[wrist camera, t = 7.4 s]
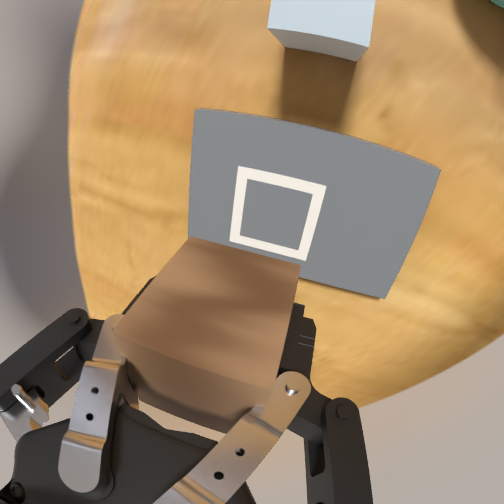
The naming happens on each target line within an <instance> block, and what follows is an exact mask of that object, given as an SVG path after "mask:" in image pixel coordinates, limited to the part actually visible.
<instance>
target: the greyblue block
mask: <svg viewBox="0 0 504 504" xmlns="http://www.w3.org/2000/svg"><path fill="white" fill-rule="evenodd" d="M374 7H375V0H272V1H271V7H270V13H269V19H268V25H267V28H268V29H269V31H270V32H271V33H272V34H273V35H274V36H275V37H276V38H277V39H278V40H279V41H280V42H281V43H282V45H283V46H284V47H287V48H294V49H300V50H306V51H312V52H317V53H322V54H326V55H331V56H335V57H339V58H344V59H348V60H351V61H355V62H357V61H358V60H359V59H360V57H361V56H362V55H363V54H364V53H365V51H366V50H367V49H368V48H369V43H370V37H371V30H372V23H373V15H374Z"/></svg>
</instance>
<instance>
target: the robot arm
mask: <svg viewBox="0 0 504 504" xmlns="http://www.w3.org/2000/svg"><path fill="white" fill-rule="evenodd" d="M155 277H156V276H155ZM155 277H153V278H151V279H150V280H149V281H148V282H147V283H146V285H145V286H144V288H142V289H141V291H140V292H139V294H137V295H136V297H135V298H134V299H133V300H132V302H131V303H130V304H129V305H128V306H127V308H126V309H125V310H124V311H123V313H122V314H115V315H112V316H110V317H108V318H107V319H106V320H97V319H90V318H89V317H88V314H87V312H86V311H84V310H83V309H80V308H75V309H71V310H69V311H68V312H66V313H65V314H63V315H62V316H61V317H59V318H58V319H57V320H55V321H54V322H53V323H52V324H50V325H49V326H47V327H46V328H45V329H44V330H42V331H41V332H40V333H38V334H37V335H36V336H35V337H33V338H32V339H31V340H30V341H28V342H27V343H26V344H24V345H23V346H22V347H21V348H19V349H18V350H17V351H16V352H15V353H13V354H12V355H11V356H10V357H8V358H7V359H6V360H5V361H4V362H3V363H1V364H0V416H1V417H2V419H3V421H4V423H5V424H6V426H7V428H8V429H9V431H10V432H11V434H12V435H13V437H14V438H15V440H16V441H17V444H16V447H15V463H14V471H13V475H12V478H11V480H10V482H9V483H8V484H7V485H6V486H5V487H4V488H3V489H1V490H0V504H256V502H255V500H254V498H253V496H252V494H251V492H250V489H249V487H248V485H247V483H246V480H247V478H248V477H249V476H250V475H251V474H252V472H253V471H254V470H255V469H256V468H257V466H258V465H259V464H260V463H261V461H262V460H263V459H264V458H265V456H266V455H267V454H268V453H269V451H270V450H271V449H272V447H273V446H274V445H275V444H276V442H277V441H278V439H279V438H280V436H281V435H282V434H283V432H284V431H285V429H286V428H287V429H289V430H290V431H292V432H294V433H296V434H297V435H299V436H301V437H303V438H304V449H305V463H306V464H305V465H306V480H307V481H306V482H307V502H308V504H373V498H372V490H371V482H370V475H369V467H368V461H367V454H366V449H365V442H364V436H363V430H362V425H361V419H360V415H359V410H358V407H357V406H356V404H355V403H354V402H352V401H351V400H349V399H347V398H335V399H333V400H332V399H330V398H328V397H326V396H324V395H322V394H320V393H319V392H318V391H316V390H315V388H314V387H313V386H312V384H311V381H310V371H311V365H312V358H313V351H314V343H315V335H316V326H315V324H314V321H313V319H310V318H306V317H303V314H304V308H305V305H301V304H298V303H293V307H292V312H291V317H290V321H289V326H288V330H287V335H286V339H285V343H284V348H283V352H282V356H281V360H280V364H279V368H278V373H277V377H276V381H275V384H274V388H273V391H272V394H271V396H270V398H269V400H268V402H267V404H266V406H265V408H264V407H261V406H257V405H255V406H254V407H253V408H252V410H251V411H250V412H249V413H246V414H245V415H244V416H243V417H242V418H241V419H240V420H239V421H238V422H237V423H236V424H235V425H234V427H233V428H232V429H231V430H230V431H229V432H228V433H227V434H226V435H225V436H224V438H223V439H222V440H221V441H220V442H219V443H218V442H217V441H214V440H211V439H208V438H205V437H202V436H200V435H197V434H194V433H187V432H180V431H174V430H168V429H165V428H163V427H162V426H161V425H159V424H158V423H157V422H155V421H154V420H153V419H151V418H150V417H149V416H148V415H146V414H145V413H144V412H141V411H139V402H138V390H139V389H138V386H137V384H135V383H133V382H131V380H130V378H129V375H128V373H127V371H128V365H129V364H128V361H127V359H126V357H124V356H122V355H120V353H119V350H118V348H117V345H116V342H115V339H114V337H113V334H112V331H113V329H114V328H115V327H116V325H117V324H118V323H119V322H120V320H121V319H122V318H123V316H124V315H125V314H126V313H127V311H128V310H129V309H130V308H131V306H132V305H133V304H134V303H135V301H136V300H137V299H138V298H139V296H140V295H141V294H142V293H143V292H144V290H145V289H146V288H147V287H148V285H149V284H150V283H151V282H152V281H153V279H154V278H155ZM72 346H73V348H72V349H71V350H70V351H69V352H67V353H66V354H65V355H64V356H63V357H61V358H60V359H59V360H58V361H57V362H55V361H56V360H57V359H58V358H59V357H60V356H61V355H63V354H64V353H65V352H66V351H67V350H69V349H70V348H71V347H72ZM78 381H79V384H78V388H77V392H76V396H75V400H74V405H73V409H72V414H71V418H69V419H66V420H63V421H60V422H57V423H54V424H51V425H48V426H45V427H42V424H43V422H47V421H48V420H49V415H48V412H49V407H50V406H52V405H53V404H54V403H55V402H56V401H57V400H58V399H59V398H60V397H61V396H62V395H64V394H65V393H66V392H67V391H68V390H69V389H70V388H71V387H72V386H74V385H75V384H76V383H77V382H78Z"/></svg>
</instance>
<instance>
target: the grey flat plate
mask: <svg viewBox="0 0 504 504" xmlns="http://www.w3.org/2000/svg"><path fill="white" fill-rule="evenodd" d="M440 171H441V170H440V169H439V168H438V167H437V166H435V165H433V164H430V163H428V162H425V161H423V160H420V159H418V158H415V157H413V156H410V155H407V154H405V153H402V152H399V151H396V150H394V149H391V148H388V147H385V146H382V145H379V144H376V143H373V142H369V141H366V140H363V139H360V138H356V137H353V136H349V135H346V134H342V133H338V132H335V131H331V130H327V129H323V128H319V127H315V126H310V125H306V124H301V123H297V122H292V121H287V120H282V119H277V118H271V117H265V116H259V115H253V114H247V113H240V112H232V111H224V110H215V109H205V108H200V109H195V115H194V126H193V138H192V152H191V168H190V188H189V215H188V239H189V238H190V236H192V237H195V238H199V239H203V240H207V241H211V242H215V243H218V244H222V245H226V246H230V247H234V248H237V249H241V250H245V251H249V252H253V253H256V254H260V255H264V256H268V257H272V258H276V259H279V260H283V261H287V262H291V263H295V264H298V265H301V268H300V273H299V277H300V278H304V279H308V280H312V281H316V282H320V283H323V284H327V285H331V286H335V287H339V288H343V289H347V290H351V291H354V292H358V293H362V294H366V295H370V296H374V297H378V298H382V299H385V297H386V296H387V294H388V292H389V290H390V288H391V286H392V284H393V282H394V281H395V279H396V277H397V275H398V273H399V271H400V269H401V267H402V265H403V263H404V261H405V258H406V256H407V254H408V252H409V250H410V248H411V246H412V243H413V241H414V239H415V237H416V234H417V232H418V230H419V227H420V225H421V223H422V220H423V218H424V215H425V213H426V210H427V208H428V205H429V202H430V200H431V197H432V194H433V192H434V189H435V186H436V183H437V180H438V177H439V174H440Z"/></svg>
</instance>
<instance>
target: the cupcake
mask: <svg viewBox="0 0 504 504" xmlns="http://www.w3.org/2000/svg"><path fill="white" fill-rule="evenodd" d="M491 1H492V2H493V3H495V4H496V5H498V6H500V7H502V8H504V0H491Z"/></svg>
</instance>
